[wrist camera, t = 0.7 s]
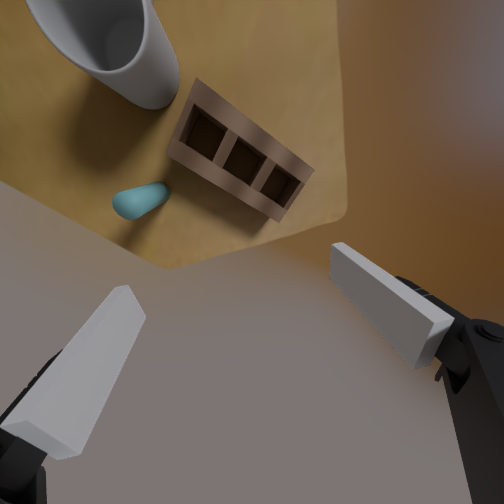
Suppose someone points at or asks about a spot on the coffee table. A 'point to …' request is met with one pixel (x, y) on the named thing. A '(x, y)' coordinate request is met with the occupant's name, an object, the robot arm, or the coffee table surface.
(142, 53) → the mug
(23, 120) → the coffee table surface
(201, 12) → the coffee table surface
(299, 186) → the hole block
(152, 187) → the peg
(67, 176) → the coffee table surface
